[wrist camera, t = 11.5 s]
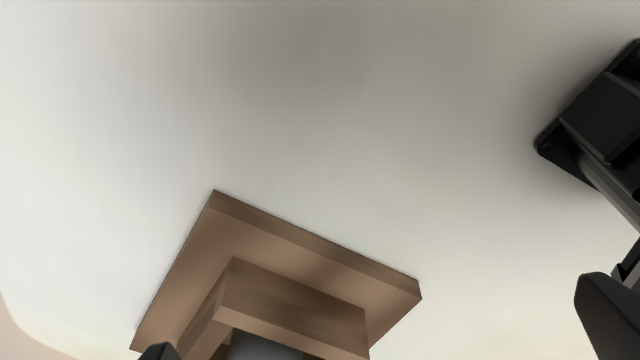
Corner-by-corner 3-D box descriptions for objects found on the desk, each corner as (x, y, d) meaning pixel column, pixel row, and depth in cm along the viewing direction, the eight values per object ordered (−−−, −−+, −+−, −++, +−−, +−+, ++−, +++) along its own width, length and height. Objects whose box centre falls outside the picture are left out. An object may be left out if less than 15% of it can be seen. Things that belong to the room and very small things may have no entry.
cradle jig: (417, 280, 27) (435, 349, 23) (309, 386, 34) (307, 455, 30) (213, 189, 23) (190, 253, 19) (136, 330, 30) (107, 400, 26)
